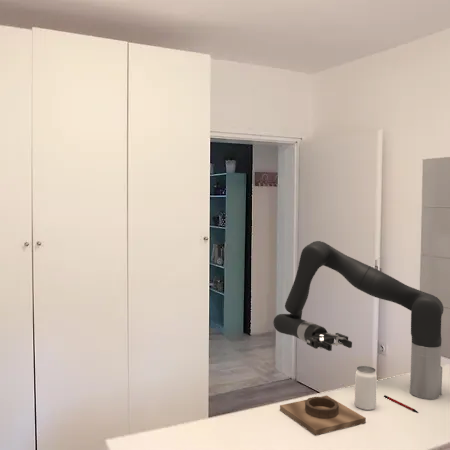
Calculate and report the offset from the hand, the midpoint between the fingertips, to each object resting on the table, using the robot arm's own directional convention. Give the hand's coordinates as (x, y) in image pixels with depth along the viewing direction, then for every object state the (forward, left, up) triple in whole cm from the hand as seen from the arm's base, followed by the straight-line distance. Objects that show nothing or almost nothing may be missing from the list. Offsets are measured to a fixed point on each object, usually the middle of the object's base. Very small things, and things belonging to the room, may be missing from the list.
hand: (341, 346), depth 166 cm
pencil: (-11, +16, -16) cm, 26 cm away
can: (0, +12, -16) cm, 20 cm away
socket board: (+17, +12, -16) cm, 26 cm away
